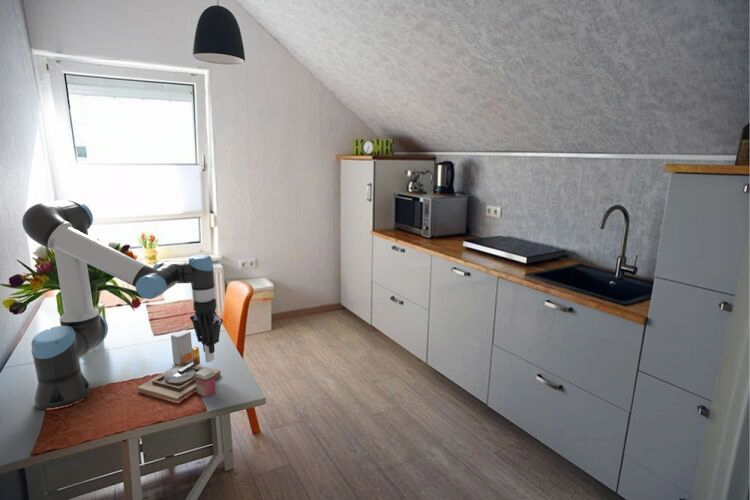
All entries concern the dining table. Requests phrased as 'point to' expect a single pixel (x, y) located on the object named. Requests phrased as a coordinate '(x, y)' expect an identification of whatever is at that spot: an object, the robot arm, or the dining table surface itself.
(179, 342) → the skincare box
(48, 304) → the dining table surface
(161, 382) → the beige square board
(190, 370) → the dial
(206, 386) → the small box
